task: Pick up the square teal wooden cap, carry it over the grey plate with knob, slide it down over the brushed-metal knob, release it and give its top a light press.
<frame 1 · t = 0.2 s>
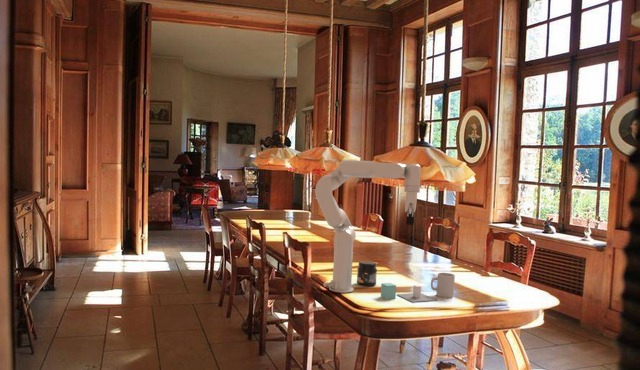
hand: (410, 223, 265), 36 cm above the table, tool pointing down, fingers open, 9 cm apart
supplement container: (366, 285, 288), on the table
cap: (388, 297, 262), on the table
mug: (441, 296, 272), on the table
grey plate with knob: (416, 298, 265), on the table
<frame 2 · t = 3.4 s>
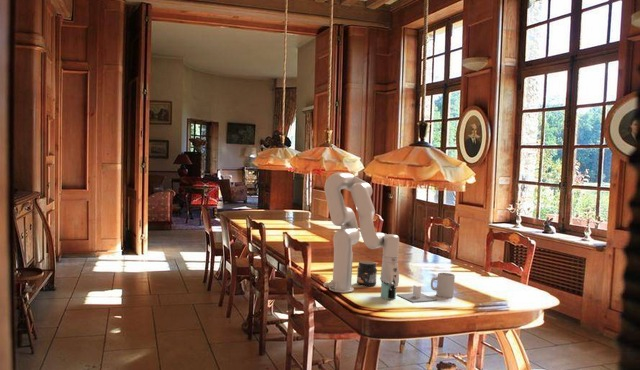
hand: (388, 296, 262), 1 cm above the table, tool pointing down, fingers closed on cap, 5 cm apart
cap: (388, 297, 262), on the table, touching gripper
everything else where it was.
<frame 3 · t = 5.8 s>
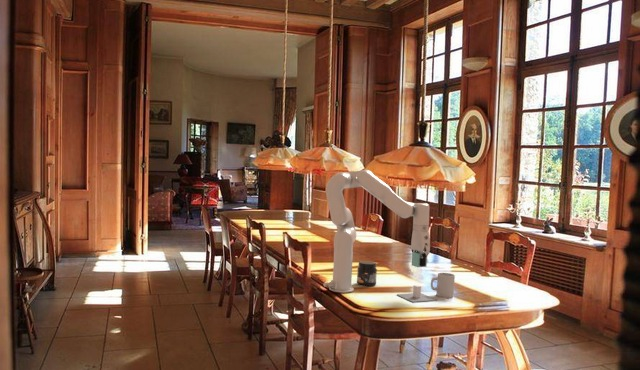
hand: (419, 264, 264), 17 cm above the table, tool pointing down, fingers closed on cap, 5 cm apart
cap: (418, 266, 264), point 16 cm above the table, touching gripper
everything else where it was.
when the fingers open (2 cm above the table, at t = 8.4 s): cap stays where it is, resting on grey plate with knob.
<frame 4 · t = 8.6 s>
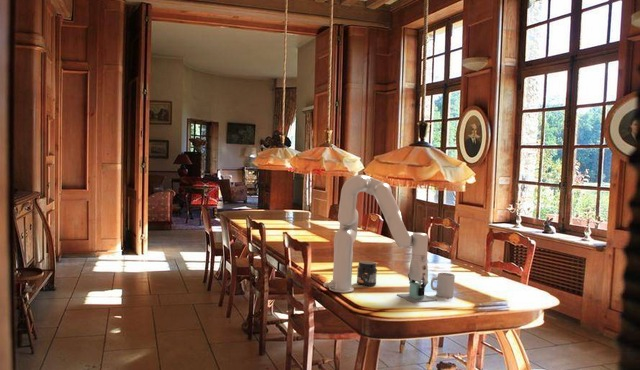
hand: (416, 293, 264), 2 cm above the table, tool pointing down, fingers open, 6 cm apart
cap: (416, 297, 265), resting on grey plate with knob
everything else where it was.
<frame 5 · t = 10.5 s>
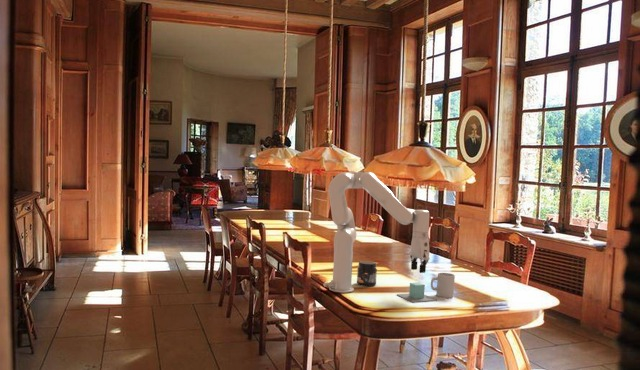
hand: (418, 270, 264), 14 cm above the table, tool pointing down, fingers open, 6 cm apart
nothing on the table moved.
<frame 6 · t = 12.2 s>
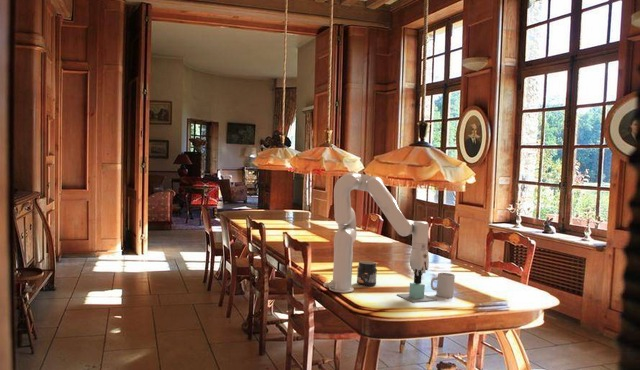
hand: (417, 283, 264), 7 cm above the table, tool pointing down, fingers closed
nothing on the table moved.
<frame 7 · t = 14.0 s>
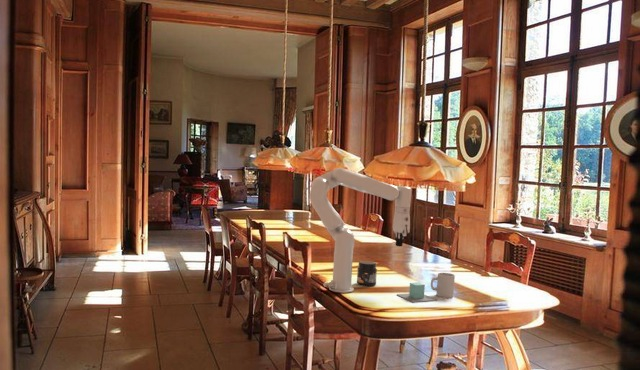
hand: (398, 245, 275), 24 cm above the table, tool pointing down, fingers closed
nothing on the table moved.
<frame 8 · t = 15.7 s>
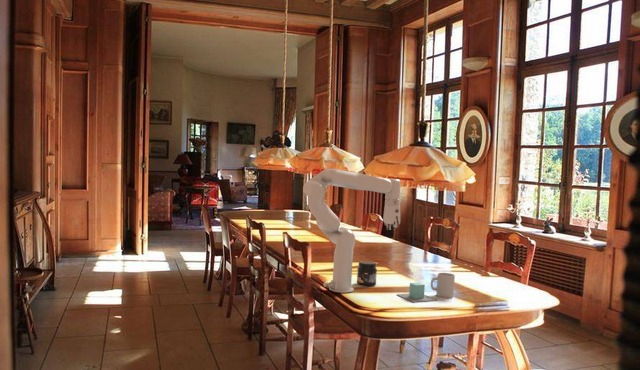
hand: (390, 237, 281), 27 cm above the table, tool pointing down, fingers closed
nothing on the table moved.
at the end: cap 0.0 cm from the grey plate with knob (horizontally); cap point 0.5 cm above the table; the gripper is holding nothing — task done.
